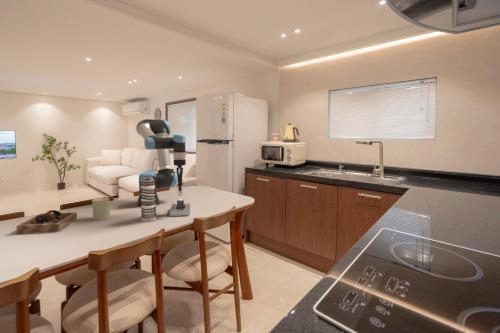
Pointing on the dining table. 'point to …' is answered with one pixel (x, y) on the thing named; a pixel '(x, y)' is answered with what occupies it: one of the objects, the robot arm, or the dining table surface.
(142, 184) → the decorative candle
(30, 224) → the tray
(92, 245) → the dining table surface
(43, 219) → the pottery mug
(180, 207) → the plug
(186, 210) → the socket plate
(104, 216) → the can
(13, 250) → the dining table surface
